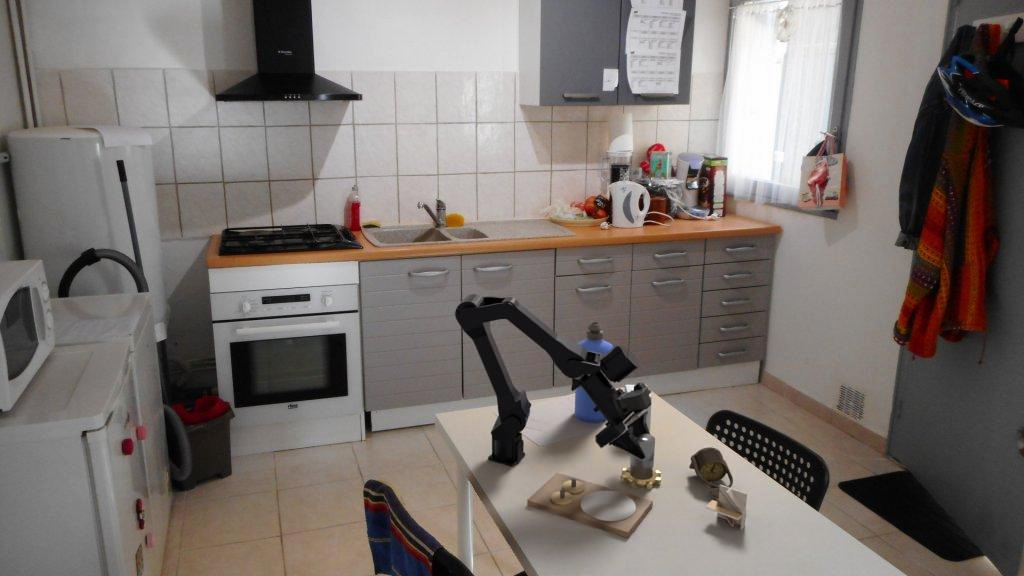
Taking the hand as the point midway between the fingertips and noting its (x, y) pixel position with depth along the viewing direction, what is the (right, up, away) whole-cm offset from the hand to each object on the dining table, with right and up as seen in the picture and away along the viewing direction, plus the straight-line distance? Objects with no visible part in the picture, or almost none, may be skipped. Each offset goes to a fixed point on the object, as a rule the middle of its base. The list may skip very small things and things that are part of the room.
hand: (648, 453), depth 162 cm
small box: (+1, 0, +26) cm, 26 cm away
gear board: (-14, -9, -8) cm, 18 cm away
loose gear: (-1, -6, +2) cm, 7 cm away
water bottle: (-9, +2, +34) cm, 35 cm away
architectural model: (+13, -11, -13) cm, 22 cm away
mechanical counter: (+13, -7, 0) cm, 15 cm away
